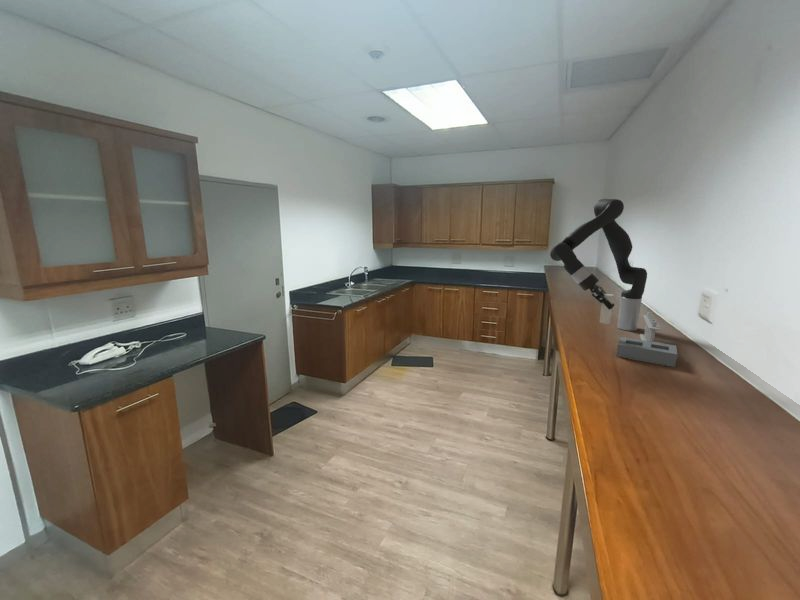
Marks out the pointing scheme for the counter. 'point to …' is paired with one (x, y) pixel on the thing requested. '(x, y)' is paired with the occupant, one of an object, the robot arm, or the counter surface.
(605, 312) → the cream rectangular block
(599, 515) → the counter surface
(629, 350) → the grey two-slot holder
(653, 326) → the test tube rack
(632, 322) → the robot arm
